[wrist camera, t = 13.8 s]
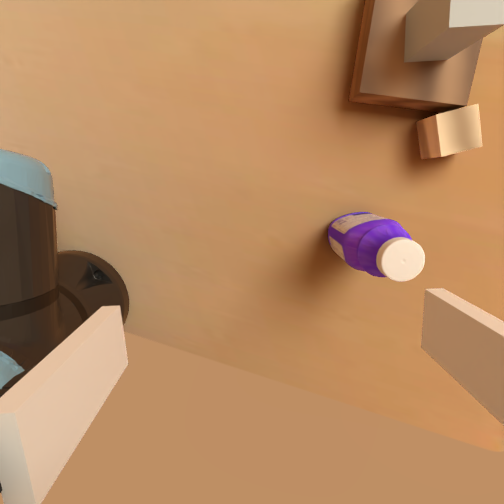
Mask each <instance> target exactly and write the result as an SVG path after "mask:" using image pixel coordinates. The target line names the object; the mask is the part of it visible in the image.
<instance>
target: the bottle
mask: <svg viewBox="0 0 504 504" xmlns="http://www.w3.org/2000/svg"><path fill="white" fill-rule="evenodd" d="M328 239H329V243H330V245H331V248H332V249H333V251H335V252H336V253H337V254H338V255H339V256H340V257H341V258H342V259H343V260H344V261H345V262H346V263H347V264H349V265H350V266H351V267H353V268H354V269H357V270H361V271H366V272H368V273H369V274H371V275H373V276H377V277H388V278H390V279H391V280H394V281H398V282H404V281H408V280H411V279H413V278H415V277H416V276H417V275H418V274H419V273H420V272H421V271H422V269H423V266H424V263H425V254H424V251H423V249H422V248H421V246H420V245H419V244H418V243H416V242H414V241H412V239H411V237H410V236H409V234H408V233H407V232H406V231H405V230H404V229H403V228H402V226H401V225H400V224H399V223H398V222H396V221H394V220H390V219H386V218H383V217H380V216H377V215H374V214H371V213H368V212H357V213H351V214H347V215H344V216H341V217H339V218H337V219H335V220H334V221H333V222H332V223H331V224H330V226H329V229H328Z"/></svg>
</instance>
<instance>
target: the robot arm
mask: <svg viewBox="0 0 504 504" xmlns="http://www.w3.org/2000/svg"><path fill="white" fill-rule="evenodd" d="M55 210H57V204H56V203H55V201H54V191H53V181H52V175H51V173H50V171H49V169H48V168H47V167H46V166H45V165H44V164H43V163H42V162H40V161H39V160H37V159H35V158H32V157H29V156H26V155H23V154H19V153H15V152H11V151H7V150H3V149H0V493H2V497H3V501H4V504H41V503H42V501H43V499H44V498H45V496H46V495H47V493H48V492H49V490H50V488H51V487H52V485H53V483H54V482H55V480H56V479H57V477H58V476H59V474H60V472H61V471H62V469H63V467H64V466H65V464H66V463H67V461H68V459H69V458H70V456H71V454H72V453H73V451H74V450H75V448H76V447H77V445H78V443H79V442H80V440H81V439H82V437H83V435H84V434H85V432H86V431H87V429H88V427H89V426H90V424H91V423H92V421H93V419H94V418H95V416H96V415H97V413H98V411H99V410H100V408H101V406H102V405H103V403H104V402H105V400H106V399H107V397H108V395H109V394H110V392H111V391H112V389H113V387H114V386H115V384H116V382H117V381H118V379H119V378H120V376H121V375H122V373H123V371H124V370H125V368H126V367H127V365H128V358H127V351H126V345H125V337H124V330H123V325H124V323H125V321H126V318H127V315H128V311H129V297H128V292H127V289H126V286H125V284H124V282H123V280H122V278H121V277H120V275H119V274H118V272H117V271H116V270H115V269H114V268H113V267H112V266H111V265H110V264H109V263H107V262H106V261H104V260H103V259H101V258H100V257H98V256H95V255H93V254H90V253H87V252H83V251H62V252H58V253H57V234H56V214H55ZM421 348H422V349H423V350H424V351H425V352H426V353H428V354H429V355H430V356H431V357H432V358H433V359H434V360H435V361H436V362H437V363H438V364H439V365H440V366H441V367H442V368H443V369H444V370H446V371H447V372H448V373H449V374H450V375H451V376H452V377H453V378H454V379H455V380H456V381H457V382H458V383H459V384H460V385H461V386H462V387H463V388H465V389H466V390H467V391H468V392H469V393H470V394H471V395H472V396H473V397H474V398H475V399H476V400H477V401H478V402H479V403H480V404H481V405H483V406H484V407H485V408H486V409H487V410H488V411H489V412H490V413H491V414H492V415H493V416H494V417H495V418H496V419H497V420H498V421H499V422H500V423H502V424H503V425H504V321H502V320H500V319H498V318H496V317H494V316H493V315H491V314H489V313H487V312H485V311H484V310H482V309H480V308H478V307H476V306H474V305H473V304H471V303H469V302H467V301H465V300H463V299H462V298H460V297H458V296H456V295H454V294H452V293H451V292H449V291H447V290H445V289H443V288H437V289H425V298H424V312H423V327H422V341H421Z"/></svg>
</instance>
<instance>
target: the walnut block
mask: <svg viewBox="0 0 504 504" xmlns="http://www.w3.org/2000/svg"><path fill="white" fill-rule="evenodd" d="M417 1H418V0H365V4H364V10H363V16H362V22H361V28H360V34H359V40H358V46H357V52H356V59H355V65H354V71H353V77H352V83H351V89H350V95H349V101H351V102H359V103H367V104H375V105H383V106H391V107H399V108H407V109H415V110H423V111H431V112H439V113H444V112H448V111H452V110H456V109H459V108H462V107H464V106H467V103H468V98H469V94H470V90H471V86H472V81H473V77H474V73H475V69H476V65H477V60H478V56H479V52H480V48H481V43H482V39H483V38H482V39H480V40H479V41H477V42H475V43H474V44H472V45H470V46H469V47H467V48H466V49H464V50H462V51H461V52H459V53H458V54H456V55H454V56H453V57H451V58H449V59H448V60H437V61H420V62H404V52H405V27H406V13H407V12H408V11H409V10H410V9H411V8H412V7H413V6H414V5H415V4H416V3H417Z"/></svg>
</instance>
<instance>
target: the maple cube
mask: <svg viewBox="0 0 504 504" xmlns="http://www.w3.org/2000/svg"><path fill="white" fill-rule="evenodd" d="M416 126H417V133H418V140H419V148H420V155H421V159H428V158H436V157H443V156H447V155H451V154H455V153H459V152H463V151H467V150H471V149H475V148H478V147H482V136H481V126H480V116H479V106H478V104H475V105H471V106H467V107H463V108H459V109H456V110H452V111H448V112H444V113H440V114H436V115H433V116H431V117H428V118H425V119H422V120H419V121H417V122H416Z"/></svg>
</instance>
